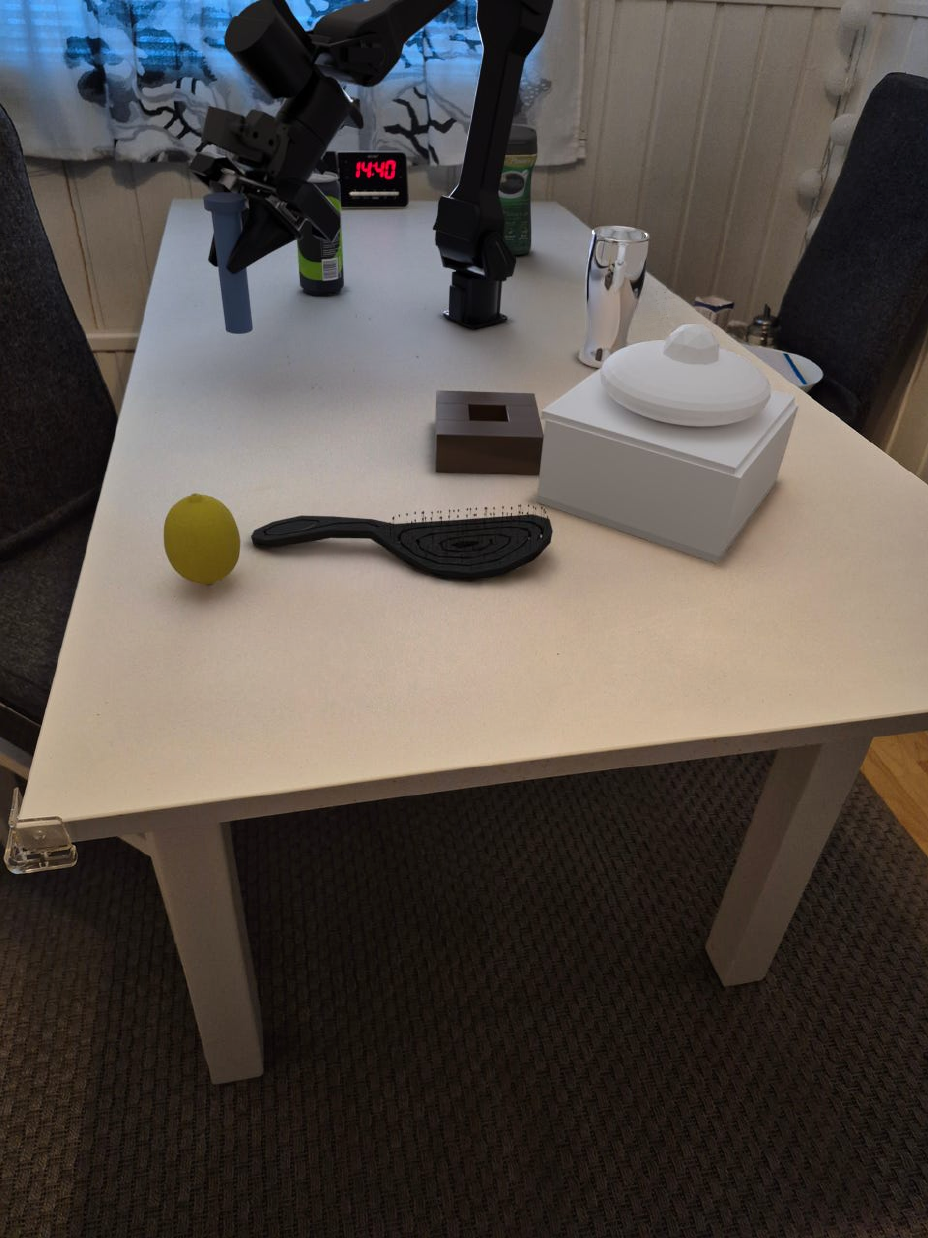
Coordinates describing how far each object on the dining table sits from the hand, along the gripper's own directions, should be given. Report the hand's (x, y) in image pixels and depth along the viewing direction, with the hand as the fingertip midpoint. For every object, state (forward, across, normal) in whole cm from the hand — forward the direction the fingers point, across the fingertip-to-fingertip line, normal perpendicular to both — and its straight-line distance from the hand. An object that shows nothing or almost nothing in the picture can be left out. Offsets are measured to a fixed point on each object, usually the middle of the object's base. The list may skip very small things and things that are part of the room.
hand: (220, 267), depth 89 cm
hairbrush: (+15, +35, +4) cm, 38 cm away
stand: (+2, +27, +18) cm, 32 cm away
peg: (+4, 0, +6) cm, 7 cm away
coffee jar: (-37, -20, +56) cm, 70 cm away
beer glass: (-19, +20, +38) cm, 47 cm away
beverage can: (-11, -22, +31) cm, 40 cm away
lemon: (+25, +28, -6) cm, 38 cm away
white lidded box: (-3, +44, +22) cm, 49 cm away
